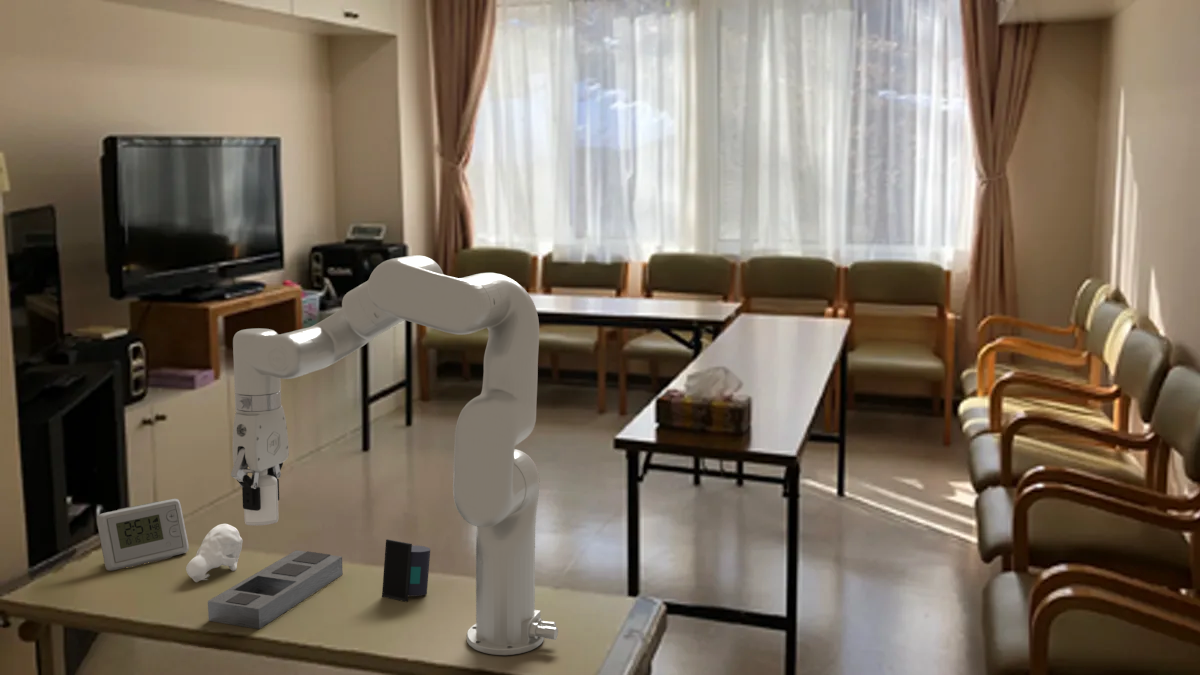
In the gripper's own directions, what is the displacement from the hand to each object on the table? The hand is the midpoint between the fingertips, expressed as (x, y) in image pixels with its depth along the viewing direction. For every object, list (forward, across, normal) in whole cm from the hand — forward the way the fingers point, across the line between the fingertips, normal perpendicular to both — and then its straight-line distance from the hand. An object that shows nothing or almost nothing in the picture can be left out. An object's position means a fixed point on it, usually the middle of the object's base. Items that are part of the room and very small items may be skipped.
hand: (261, 503), depth 187 cm
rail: (+18, +4, 0) cm, 19 cm away
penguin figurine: (+19, +9, +18) cm, 27 cm away
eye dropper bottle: (+4, 0, 0) cm, 4 cm away
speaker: (+18, +13, -21) cm, 31 cm away
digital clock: (+19, +11, +35) cm, 41 cm away
